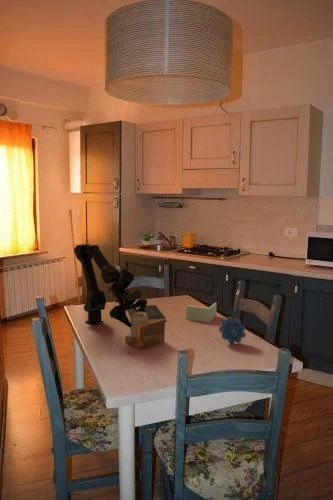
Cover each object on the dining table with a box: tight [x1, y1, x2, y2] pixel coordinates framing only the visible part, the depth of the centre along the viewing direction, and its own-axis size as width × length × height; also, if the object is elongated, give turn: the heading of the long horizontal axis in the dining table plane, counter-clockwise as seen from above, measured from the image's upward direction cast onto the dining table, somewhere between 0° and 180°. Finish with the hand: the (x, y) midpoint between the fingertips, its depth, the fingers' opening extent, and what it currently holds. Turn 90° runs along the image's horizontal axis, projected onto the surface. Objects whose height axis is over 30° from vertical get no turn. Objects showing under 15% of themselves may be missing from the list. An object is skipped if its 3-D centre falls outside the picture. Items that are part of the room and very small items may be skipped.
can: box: [129, 312, 149, 339], centre depth 176 cm, size 8×8×12 cm
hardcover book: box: [127, 304, 166, 323], centre depth 212 cm, size 16×23×2 cm
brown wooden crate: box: [124, 318, 166, 351], centre depth 174 cm, size 11×12×10 cm
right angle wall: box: [185, 302, 217, 323], centre depth 210 cm, size 12×12×8 cm
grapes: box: [218, 316, 246, 344], centre depth 173 cm, size 12×7×12 cm, turn 96°
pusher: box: [138, 321, 155, 340], centre depth 173 cm, size 1×9×8 cm, turn 140°
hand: (138, 324), depth 176 cm, fingers open, 9 cm apart
